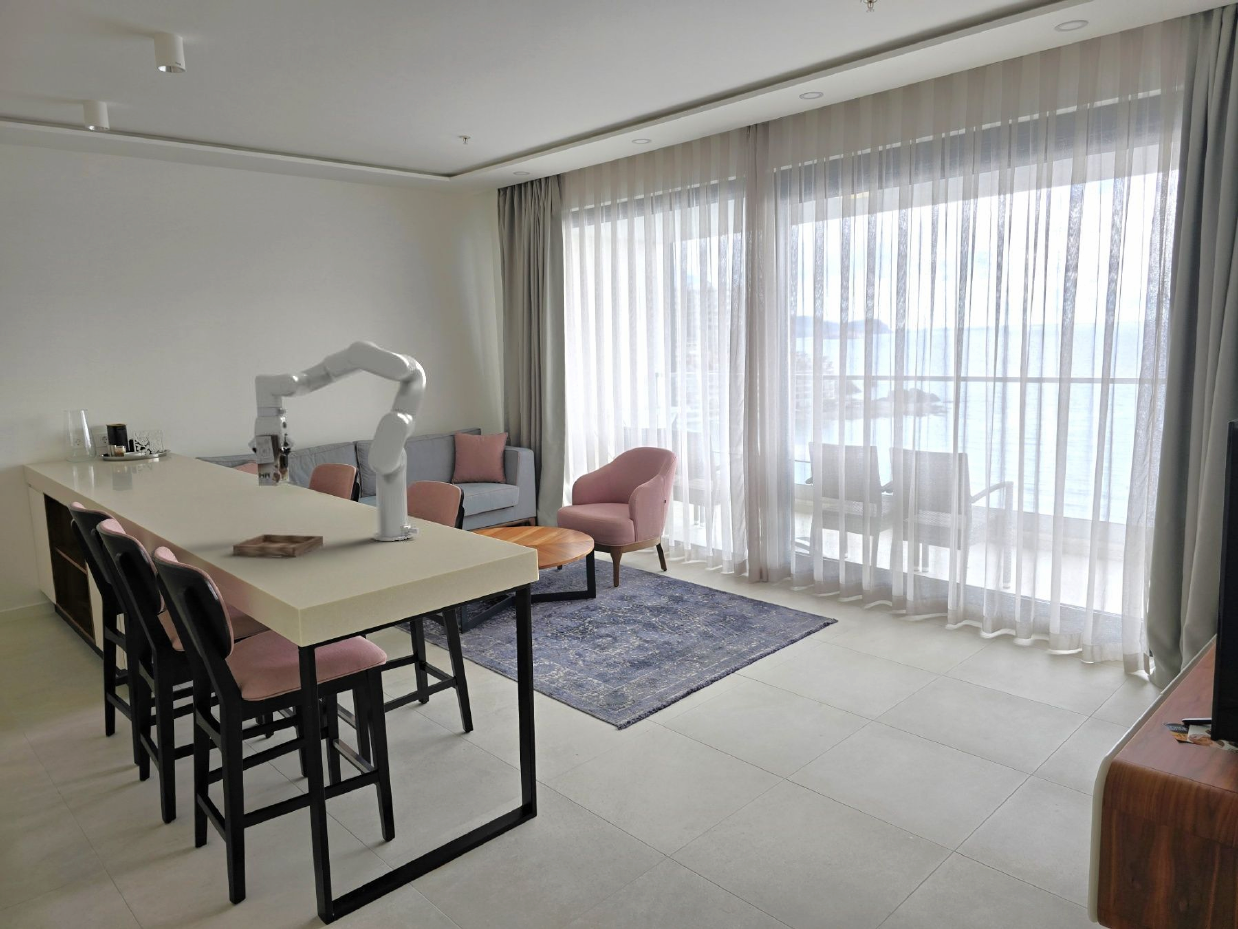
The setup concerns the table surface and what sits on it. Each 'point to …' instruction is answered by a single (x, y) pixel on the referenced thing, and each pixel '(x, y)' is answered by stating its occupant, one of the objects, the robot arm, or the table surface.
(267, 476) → the coffee box
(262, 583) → the table surface
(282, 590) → the table surface
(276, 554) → the tray
